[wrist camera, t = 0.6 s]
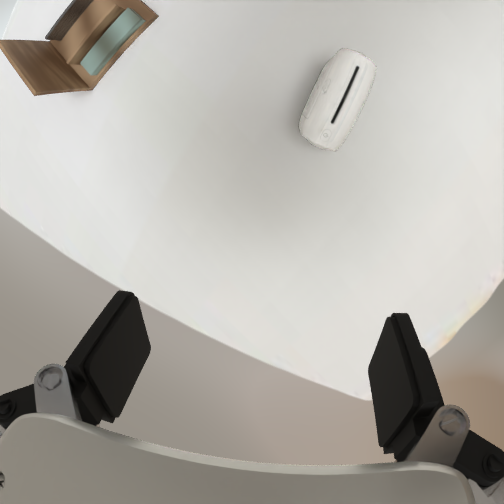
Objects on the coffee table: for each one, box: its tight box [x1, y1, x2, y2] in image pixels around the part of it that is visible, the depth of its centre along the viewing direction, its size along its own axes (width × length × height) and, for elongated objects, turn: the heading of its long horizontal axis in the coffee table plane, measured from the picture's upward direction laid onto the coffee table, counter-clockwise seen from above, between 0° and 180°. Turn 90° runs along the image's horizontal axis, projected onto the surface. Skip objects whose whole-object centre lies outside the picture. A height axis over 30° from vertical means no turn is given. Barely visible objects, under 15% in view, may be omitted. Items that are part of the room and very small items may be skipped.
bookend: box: [45, 0, 94, 41], centre depth 25 cm, size 10×2×4 cm, turn 130°
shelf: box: [0, 0, 159, 96], centre depth 24 cm, size 14×13×12 cm
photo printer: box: [299, 48, 376, 151], centre depth 27 cm, size 10×4×12 cm, turn 158°
